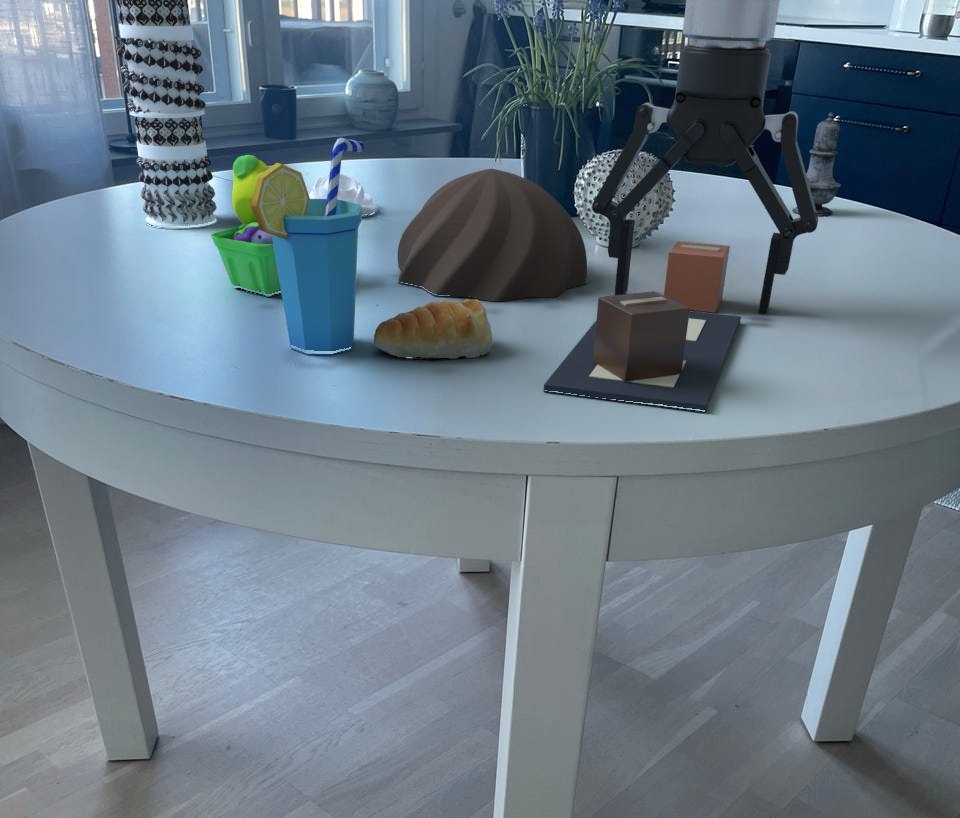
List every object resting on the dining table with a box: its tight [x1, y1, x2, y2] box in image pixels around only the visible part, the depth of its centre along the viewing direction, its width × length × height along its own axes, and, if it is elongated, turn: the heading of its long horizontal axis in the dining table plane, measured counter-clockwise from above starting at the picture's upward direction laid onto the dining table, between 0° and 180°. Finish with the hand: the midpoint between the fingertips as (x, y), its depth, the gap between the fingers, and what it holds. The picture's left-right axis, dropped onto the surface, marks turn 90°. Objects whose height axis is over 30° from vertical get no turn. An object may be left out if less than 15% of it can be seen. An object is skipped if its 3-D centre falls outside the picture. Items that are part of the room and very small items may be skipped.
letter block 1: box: [593, 291, 691, 381], centre depth 77 cm, size 5×5×5 cm
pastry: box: [373, 298, 494, 360], centre depth 82 cm, size 9×7×4 cm
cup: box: [251, 137, 365, 356], centre depth 80 cm, size 14×8×15 cm, turn 158°
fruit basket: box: [210, 154, 282, 298], centre depth 97 cm, size 11×9×11 cm
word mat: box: [543, 310, 742, 414], centre depth 83 cm, size 24×12×1 cm, turn 162°
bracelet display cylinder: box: [114, 0, 218, 230], centre depth 116 cm, size 9×9×25 cm
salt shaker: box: [791, 111, 841, 217], centre depth 133 cm, size 6×6×12 cm
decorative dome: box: [397, 168, 588, 303], centre depth 101 cm, size 19×20×10 cm
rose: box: [308, 173, 379, 218], centre depth 129 cm, size 10×4×10 cm
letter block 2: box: [663, 240, 731, 314], centre depth 95 cm, size 5×5×5 cm
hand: (691, 301), depth 97 cm, fingers open, 13 cm apart
